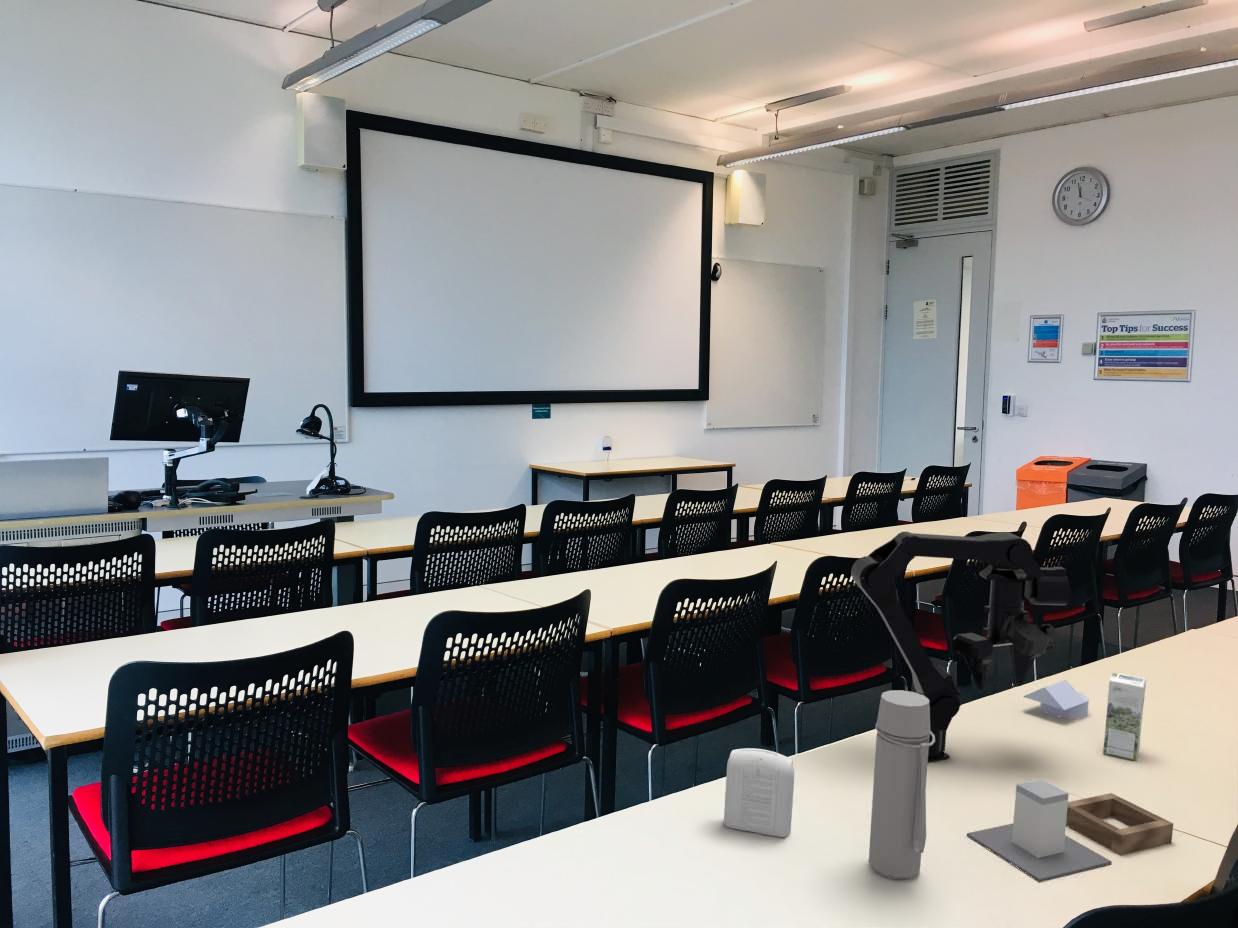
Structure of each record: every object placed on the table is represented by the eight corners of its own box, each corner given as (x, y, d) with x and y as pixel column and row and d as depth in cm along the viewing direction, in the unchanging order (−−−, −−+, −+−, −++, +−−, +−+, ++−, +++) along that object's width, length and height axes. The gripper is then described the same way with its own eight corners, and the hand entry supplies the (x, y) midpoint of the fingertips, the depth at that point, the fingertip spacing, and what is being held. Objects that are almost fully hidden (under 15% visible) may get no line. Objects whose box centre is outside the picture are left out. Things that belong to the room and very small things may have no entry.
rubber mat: (1039, 881, 137) (1039, 878, 137) (966, 835, 150) (966, 832, 150) (1111, 863, 142) (1111, 861, 142) (1035, 820, 155) (1035, 818, 155)
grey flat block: (793, 827, 150) (797, 749, 149) (789, 840, 146) (793, 760, 145) (726, 816, 153) (730, 740, 152) (721, 828, 149) (724, 750, 148)
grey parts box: (1038, 857, 143) (1043, 798, 142) (1011, 841, 147) (1016, 784, 146) (1063, 851, 145) (1068, 793, 144) (1036, 836, 149) (1041, 779, 148)
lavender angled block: (1063, 726, 197) (1095, 713, 205) (1065, 693, 196) (1098, 682, 204) (1021, 712, 204) (1054, 700, 212) (1023, 680, 203) (1056, 670, 211)
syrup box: (1139, 751, 185) (1146, 676, 183) (1136, 762, 180) (1144, 685, 178) (1106, 744, 188) (1112, 670, 186) (1102, 754, 183) (1108, 678, 181)
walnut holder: (1119, 854, 145) (1121, 835, 145) (1059, 821, 155) (1061, 803, 155) (1171, 842, 150) (1173, 823, 149) (1109, 810, 160) (1111, 792, 159)
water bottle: (855, 861, 141) (865, 692, 138) (899, 851, 144) (910, 686, 141) (897, 894, 132) (909, 714, 130) (943, 883, 136) (955, 708, 133)
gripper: (1000, 619, 166) (993, 708, 168) (1081, 610, 174) (1073, 696, 175) (953, 603, 176) (947, 687, 178) (1031, 595, 184) (1025, 676, 185)
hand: (1000, 687), depth 179 cm, fingers open, 9 cm apart
